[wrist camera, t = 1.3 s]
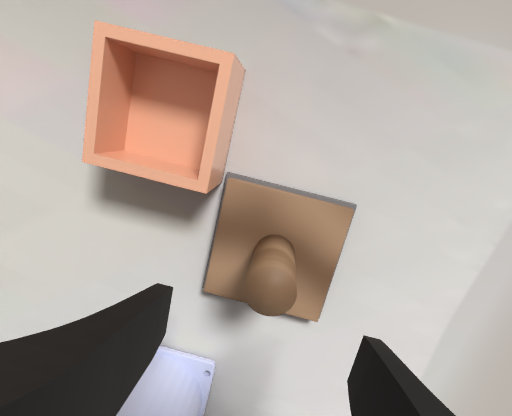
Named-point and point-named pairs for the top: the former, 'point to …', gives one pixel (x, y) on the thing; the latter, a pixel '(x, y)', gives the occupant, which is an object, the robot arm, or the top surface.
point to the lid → (276, 249)
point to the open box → (160, 107)
